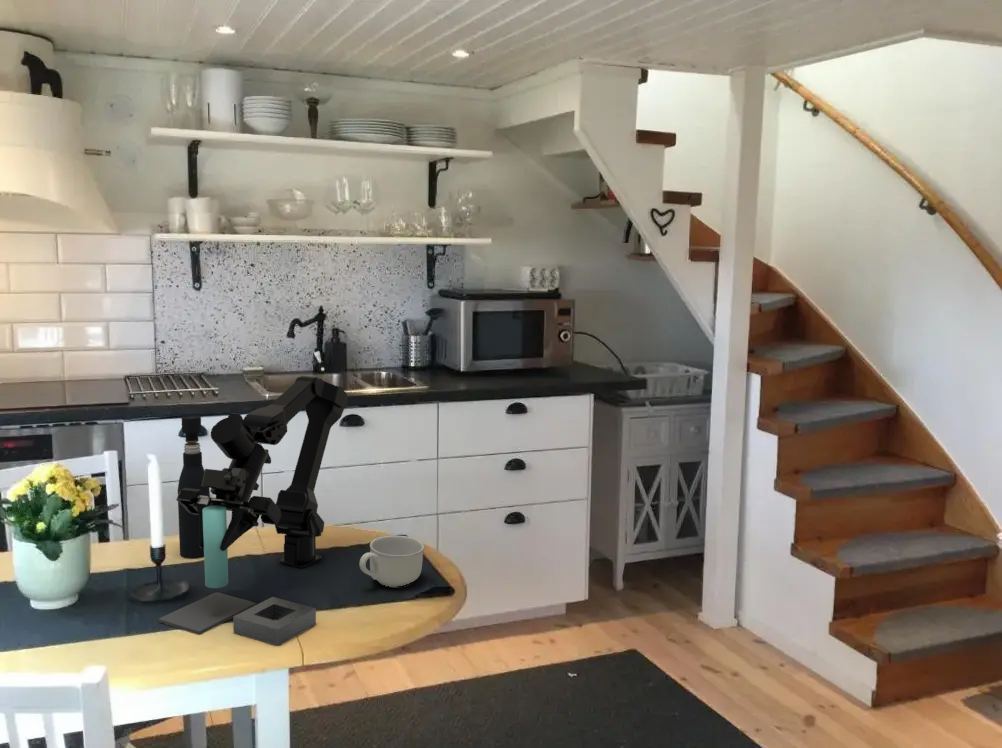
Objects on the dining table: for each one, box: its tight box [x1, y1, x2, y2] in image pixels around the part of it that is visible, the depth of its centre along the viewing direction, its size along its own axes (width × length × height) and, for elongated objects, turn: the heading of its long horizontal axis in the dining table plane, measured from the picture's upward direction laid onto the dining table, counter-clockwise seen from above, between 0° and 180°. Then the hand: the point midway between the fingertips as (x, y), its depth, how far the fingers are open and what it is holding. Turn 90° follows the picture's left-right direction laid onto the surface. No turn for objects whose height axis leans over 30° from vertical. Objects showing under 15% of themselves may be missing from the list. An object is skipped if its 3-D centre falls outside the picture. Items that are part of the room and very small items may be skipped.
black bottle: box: [177, 414, 211, 560], centre depth 194 cm, size 6×6×30 cm
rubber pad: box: [157, 591, 257, 635], centre depth 167 cm, size 14×10×1 cm
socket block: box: [232, 596, 317, 647], centre depth 161 cm, size 10×10×3 cm
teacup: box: [358, 535, 425, 588], centre depth 182 cm, size 14×11×8 cm
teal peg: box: [202, 505, 229, 589], centre depth 163 cm, size 4×4×14 cm
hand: (211, 548), depth 162 cm, fingers closed on teal peg, 4 cm apart
